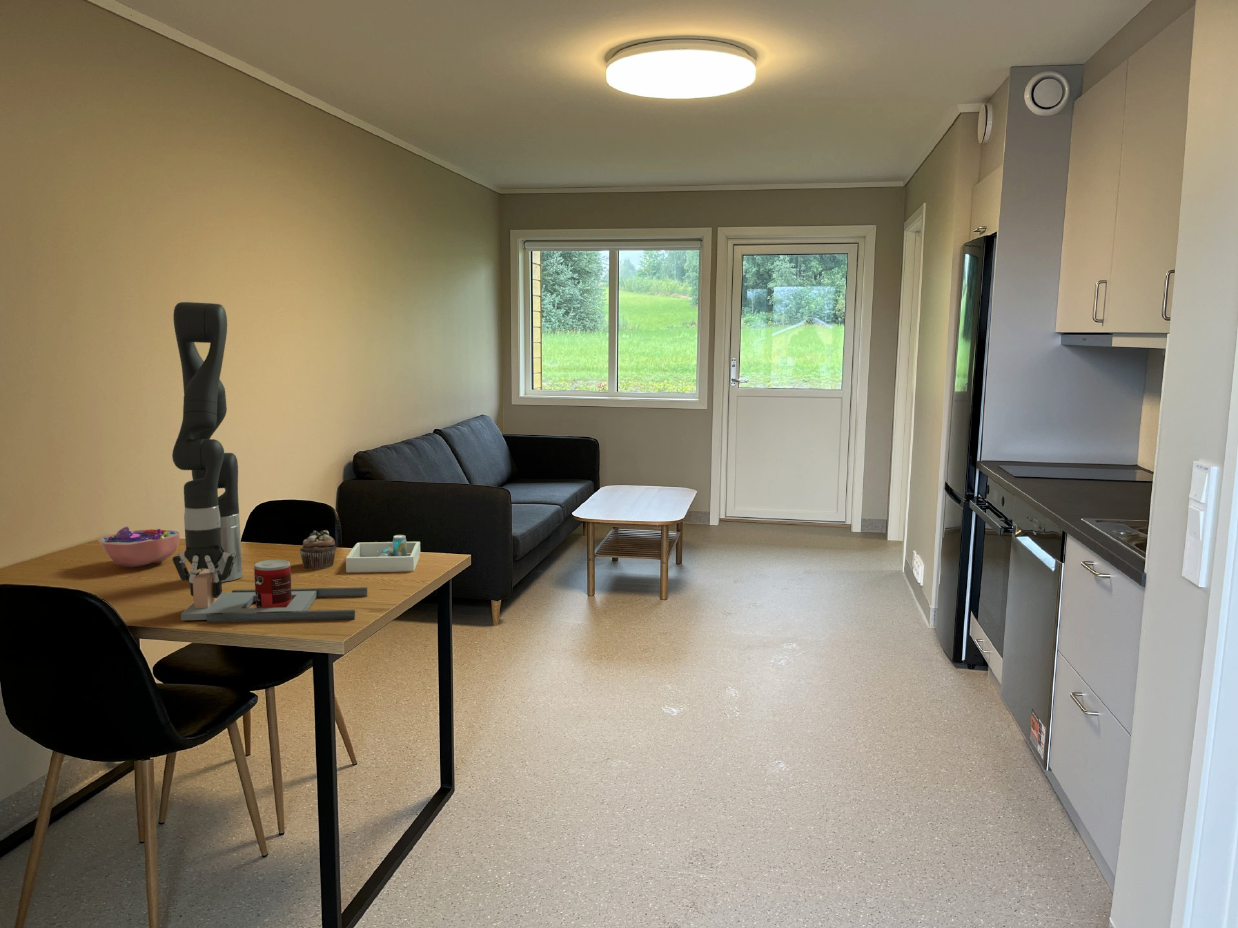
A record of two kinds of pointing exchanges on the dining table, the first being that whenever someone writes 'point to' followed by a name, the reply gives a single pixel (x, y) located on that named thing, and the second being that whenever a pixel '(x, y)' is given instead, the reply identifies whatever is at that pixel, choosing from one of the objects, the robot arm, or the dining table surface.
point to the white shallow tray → (381, 558)
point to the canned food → (272, 584)
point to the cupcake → (318, 550)
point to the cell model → (140, 546)
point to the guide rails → (294, 614)
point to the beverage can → (395, 547)
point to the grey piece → (234, 600)
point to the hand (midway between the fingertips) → (206, 596)
